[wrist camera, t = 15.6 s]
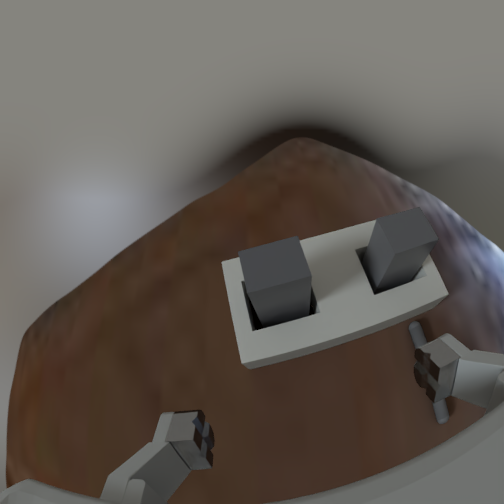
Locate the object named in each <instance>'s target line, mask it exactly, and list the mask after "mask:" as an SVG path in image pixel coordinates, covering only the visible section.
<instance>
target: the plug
mask: <svg viewBox="0 0 504 504" xmlns="http://www.w3.org/2000/svg"><path fill="white" fill-rule="evenodd" d="M238 254H239V258H240V263H241V267H242V272H243V276H244V281H245V285H246V290H247V294H248V296H249V298H250V300H251V302H252V305H253V307H254V309H255V311H256V313H257V315H258V317H259V320H260V322H261V324H262V326H263V328H267V327H271V326H275V325H279V324H282V323H286V322H290V321H293V320H297V319H300V318H304V317H307V316H309V310H310V296H311V281H312V275H311V272H310V269H309V266H308V263H307V260H306V258H305V255H304V252H303V249H302V247H301V244H300V241H299V238H298V236H295V237H291V238H287V239H283V240H280V241H276V242H272V243H269V244H265V245H261V246H257V247H254V248H250V249H246V250H243V251H239V252H238Z"/></svg>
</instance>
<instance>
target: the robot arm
mask: <svg viewBox="0 0 504 504" xmlns="http://www.w3.org/2000/svg"><path fill="white" fill-rule="evenodd" d="M415 358H416V359H417V362H416V364H415V365H414V376H415V380H416V382H417V383H418V385H419V386H420V387H422V388H425V389H426V395H427V396H428V397H429V398H430V400H431V401H432V402H433V403H434V404H435V403H436V402H438V401H440V400H442V399H444V398H446V397H448V396H450V395H451V396H454V397H456V398H459V399H462V400H464V401H467V402H470V403H472V404H475V405H478V406H480V407H483V408H486V409H487V410H486V413H485V415H484V417H482V418H481V419H479V420H478V421H477V422H475V423H474V424H472V425H471V426H469V427H468V428H466V429H465V430H463V431H461V432H460V433H458V434H457V435H455V436H453V437H452V438H450V439H448V440H447V441H445V442H443V443H441V444H440V445H438V446H436V447H434V448H432V449H431V450H429V451H427V452H425V453H423V454H421V455H419V456H417V457H415V458H413V459H411V460H409V461H407V462H404V463H402V464H400V465H398V466H396V467H393V468H391V469H389V470H386V471H384V472H381V473H379V474H376V475H373V476H371V477H368V478H365V479H363V480H360V481H357V482H354V483H351V484H348V485H345V486H341V487H338V488H335V489H331V490H328V491H324V492H320V493H316V494H312V495H308V496H303V497H299V498H294V499H289V500H283V501H278V502H271V503H264V504H504V354H499V353H492V352H485V351H479V350H473V351H470V350H469V349H468V348H467V347H465V346H464V345H463V344H462V343H460V342H459V341H458V340H457V339H455V338H454V337H453V336H452V335H450V334H448V333H446V334H444V335H442V336H441V337H439V338H437V339H435V340H433V341H431V342H429V343H427V344H425V345H423V346H420V347H418V348H416V350H415ZM214 441H215V440H214V433H213V430H212V428H211V426H210V424H209V423H207V422H205V415H204V413H203V411H202V410H189V411H178V412H167V413H162V414H161V416H160V419H159V422H158V425H157V429H156V432H155V435H154V438H153V441H152V443H148V444H147V445H145V446H144V447H143V448H142V449H141V450H139V451H138V452H137V453H136V454H135V455H133V456H132V457H131V458H130V459H129V460H127V461H126V462H125V463H124V464H122V465H121V466H120V467H119V468H117V469H116V470H115V471H114V472H112V473H111V474H110V475H109V476H108V478H107V481H106V484H105V486H104V489H103V492H102V494H101V497H100V499H99V498H94V497H90V496H86V495H82V494H78V493H74V492H70V491H67V490H63V489H60V488H57V487H54V486H51V485H48V484H45V483H42V482H39V481H37V480H33V479H26V480H24V481H22V482H19V483H17V484H15V485H13V486H12V487H10V488H8V489H6V490H4V491H3V492H1V493H0V504H168V503H167V502H166V501H167V500H168V499H169V498H170V497H171V495H172V494H173V493H174V492H175V490H176V489H177V488H178V487H179V486H180V484H181V483H182V482H183V480H184V479H185V478H186V477H187V475H188V474H189V473H190V472H191V470H197V469H208V468H212V466H213V453H212V452H211V449H212V448H213V447H214Z"/></svg>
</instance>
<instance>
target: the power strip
mask: <svg viewBox="0 0 504 504" xmlns="http://www.w3.org/2000/svg"><path fill="white" fill-rule="evenodd" d="M438 240H439V238H438V237H437V235H436V233H435V231H434V230H433V228H432V226H431V225H430V223H429V221H428V220H427V218H426V216H425V215H424V213H423V212H422V210H421V208H420V207H418V208H414V209H411V210H407V211H403V212H400V213H396V214H392V215H389V216H385V217H381V218H378V219H376V220H374V221H370V222H367V223H363V224H359V225H356V226H352V227H348V228H345V229H341V230H337V231H334V232H330V233H326V234H323V235H319V236H315V237H312V238H308V239H304V240H301V241H300V244H301V247H302V249H303V252H304V255H305V258H306V260H307V263H308V266H309V269H310V272H311V275H312V281H311V296H310V301H311V304H312V307H313V310H314V315H311V316H307V317H304V318H300V319H297V320H293V321H290V322H286V323H282V324H279V325H275V326H271V327H267V328H263V329H259V330H256V328H255V324H254V319H253V315H252V311H251V306H250V302H249V298H248V297H249V296H248V294H247V290H246V285H245V281H244V276H243V272H242V267H241V263H240V258H239V257H238V258H234V259H231V260H227V261H223V262H222V267H223V272H224V278H225V283H226V288H227V293H228V299H229V304H230V309H231V314H232V319H233V324H234V329H235V334H236V338H237V343H238V348H239V353H240V358H241V362H242V364H243V365H244V366H246V367H247V368H249V369H253V368H258V367H262V366H266V365H270V364H274V363H278V362H282V361H286V360H289V359H293V358H297V357H300V356H304V355H307V354H311V353H314V352H317V351H321V350H324V349H327V348H330V347H334V346H337V345H340V344H343V343H346V342H349V341H352V340H355V339H357V338H360V337H363V336H366V335H369V334H371V333H374V332H377V331H380V330H382V329H385V328H387V327H390V326H392V325H395V324H398V323H400V322H402V321H405V320H407V319H410V318H412V317H414V316H417V315H419V314H421V313H424V312H426V311H428V310H430V309H433V308H434V307H435V306H436V305H437V304H439V303H440V302H441V301H442V300H443V299H444V298H445V297H446V296H447V295H448V291H447V289H446V287H445V285H444V283H443V281H442V279H441V276H440V274H439V272H438V270H437V268H436V266H435V264H434V262H433V260H432V258H431V256H430V254H429V253H430V252H431V250H432V249H433V247H434V246H435V244H436V243H437V241H438ZM409 332H410V334H411V337H412V340H413V343H414V346H415V348H418V347H420V346H423V345H425V344H427V340H426V338H425V335H424V332H423V330H422V327H421V324H420V323H419V322H417V321H413V322H412V323H411V324H410V325H409ZM432 403H433V402H432ZM433 407H434V411H435V415H436V419H437V422H438V423H440V424H443V423H446V422H447V421H448V419H449V412H448V408H447V404H446V401H445V398H444V399H442V400H440V401H438V402H436V403H435V404H434V403H433Z"/></svg>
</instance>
